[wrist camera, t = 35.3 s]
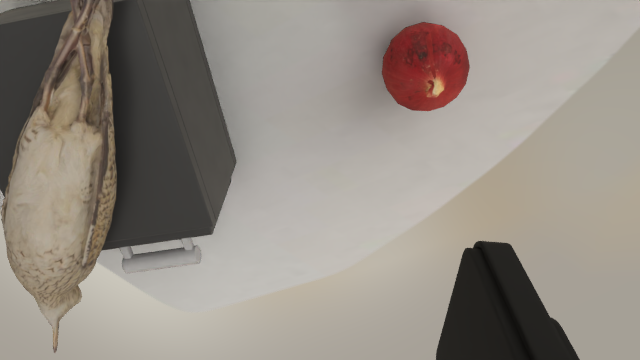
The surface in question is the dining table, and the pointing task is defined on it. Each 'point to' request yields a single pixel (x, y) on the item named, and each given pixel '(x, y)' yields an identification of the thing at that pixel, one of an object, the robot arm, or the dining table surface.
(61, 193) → the bird model
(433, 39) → the onion
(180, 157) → the dark grey box
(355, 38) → the dining table surface
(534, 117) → the dining table surface
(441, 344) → the robot arm
